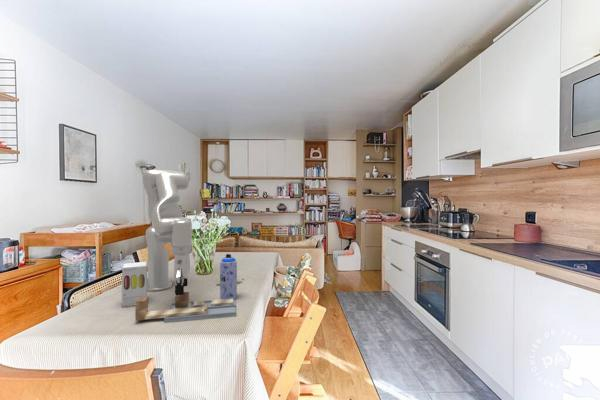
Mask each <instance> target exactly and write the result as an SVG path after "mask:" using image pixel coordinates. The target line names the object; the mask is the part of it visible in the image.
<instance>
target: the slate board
mask: <svg viewBox="0 0 600 400" xmlns="http://www.w3.org/2000/svg"><path fill="white" fill-rule="evenodd" d="M212 300H213V299H210V300H203V301H204V307H205V305H208V311H207V314H201V315H190V316H179V317H167V318H163V323H164V324H165V323H172V322H173V323H174V322H176V323H177V322H185V321H187V322H188V321H195V320H207V319H217V318H218V319H221V318H230V317H231V318H232V317H236V316H237V312H236V311H237V310H236V309H237V308H236V307H237V306H236V299H235V298H233V305H225V306H213V307H211V301H212ZM219 300H221V299H220V298H219ZM197 301H198V300H196V301H189V303H191V305H190V308H194V302H197ZM174 306H175V302H172V303H171V307H170V308H169V310H173V308H174Z"/></svg>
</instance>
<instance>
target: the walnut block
mask: <svg viewBox="0 0 600 400" xmlns="http://www.w3.org/2000/svg"><path fill="white" fill-rule="evenodd" d="M189 302H190V292H189V291H184V294H183V295H175V296H174V303H175V308H186V307H188V305H189Z"/></svg>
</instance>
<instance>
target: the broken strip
mask: <svg viewBox="0 0 600 400" xmlns="http://www.w3.org/2000/svg"><path fill="white" fill-rule="evenodd" d="M211 300H212V301H211V307H213V306H225V305H233V299H221V300H220V299H211ZM196 301H197V302H195V301H193V302H194V308H198V307H204V301H205V300H196Z"/></svg>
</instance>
